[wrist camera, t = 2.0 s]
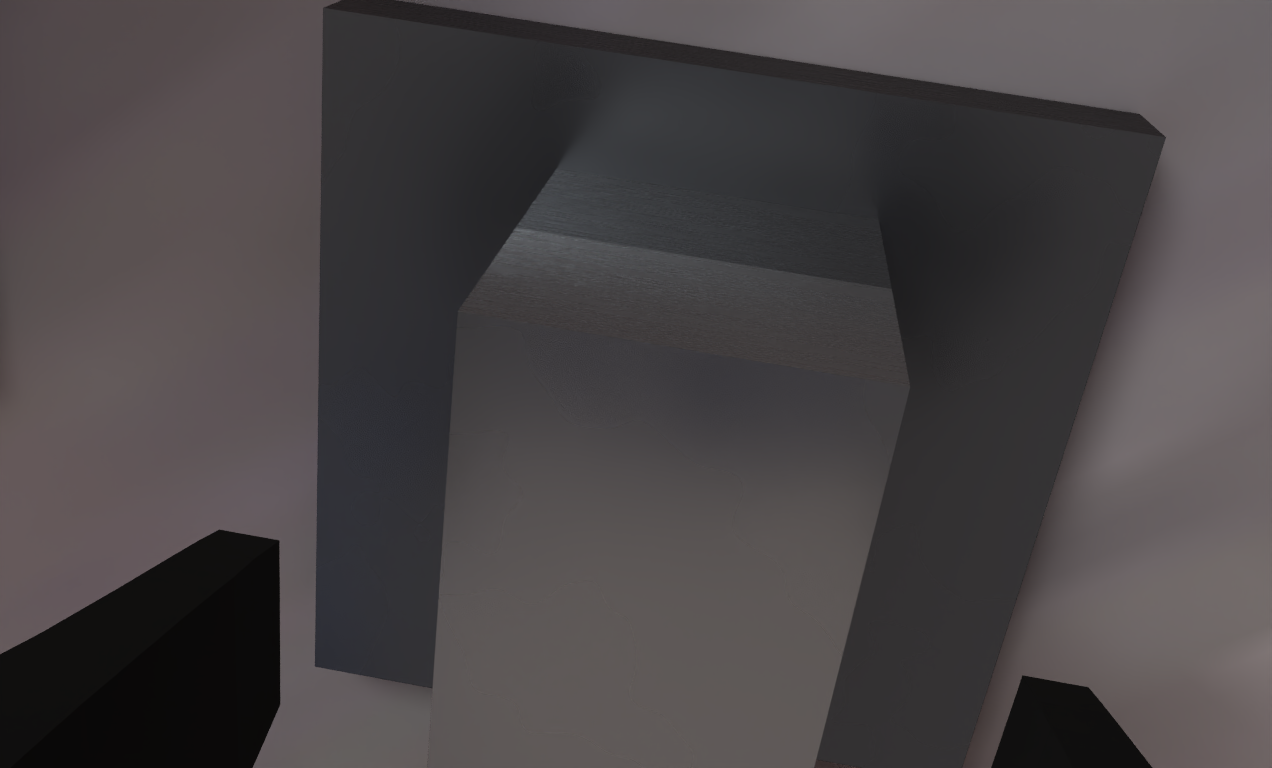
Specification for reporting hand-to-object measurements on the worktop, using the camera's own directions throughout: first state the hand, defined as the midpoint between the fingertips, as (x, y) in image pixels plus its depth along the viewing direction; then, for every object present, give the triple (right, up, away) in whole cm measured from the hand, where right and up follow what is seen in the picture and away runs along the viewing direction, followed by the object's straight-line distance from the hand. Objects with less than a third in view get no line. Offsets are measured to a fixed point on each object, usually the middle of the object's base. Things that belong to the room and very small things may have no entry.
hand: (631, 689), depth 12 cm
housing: (+1, +2, +5) cm, 5 cm away
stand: (+1, +3, +6) cm, 6 cm away
